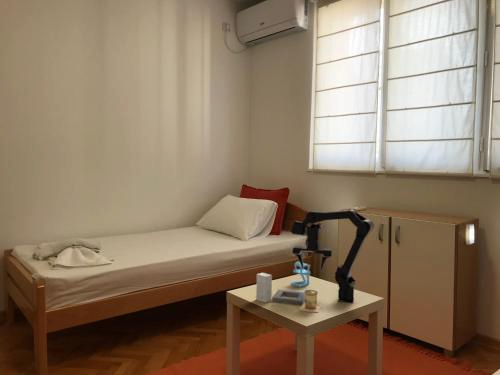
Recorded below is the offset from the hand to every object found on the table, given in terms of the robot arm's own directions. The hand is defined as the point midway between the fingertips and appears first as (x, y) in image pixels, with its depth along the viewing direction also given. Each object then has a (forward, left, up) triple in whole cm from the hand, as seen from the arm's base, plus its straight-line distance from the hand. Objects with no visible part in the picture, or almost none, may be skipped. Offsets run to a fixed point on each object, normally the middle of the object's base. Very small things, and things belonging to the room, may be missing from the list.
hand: (312, 268), depth 196 cm
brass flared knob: (-3, +21, -12) cm, 24 cm away
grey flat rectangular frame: (+8, +12, -12) cm, 19 cm away
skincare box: (+19, +18, -12) cm, 29 cm away
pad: (-3, +21, -12) cm, 24 cm away
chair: (+7, -12, -12) cm, 18 cm away
